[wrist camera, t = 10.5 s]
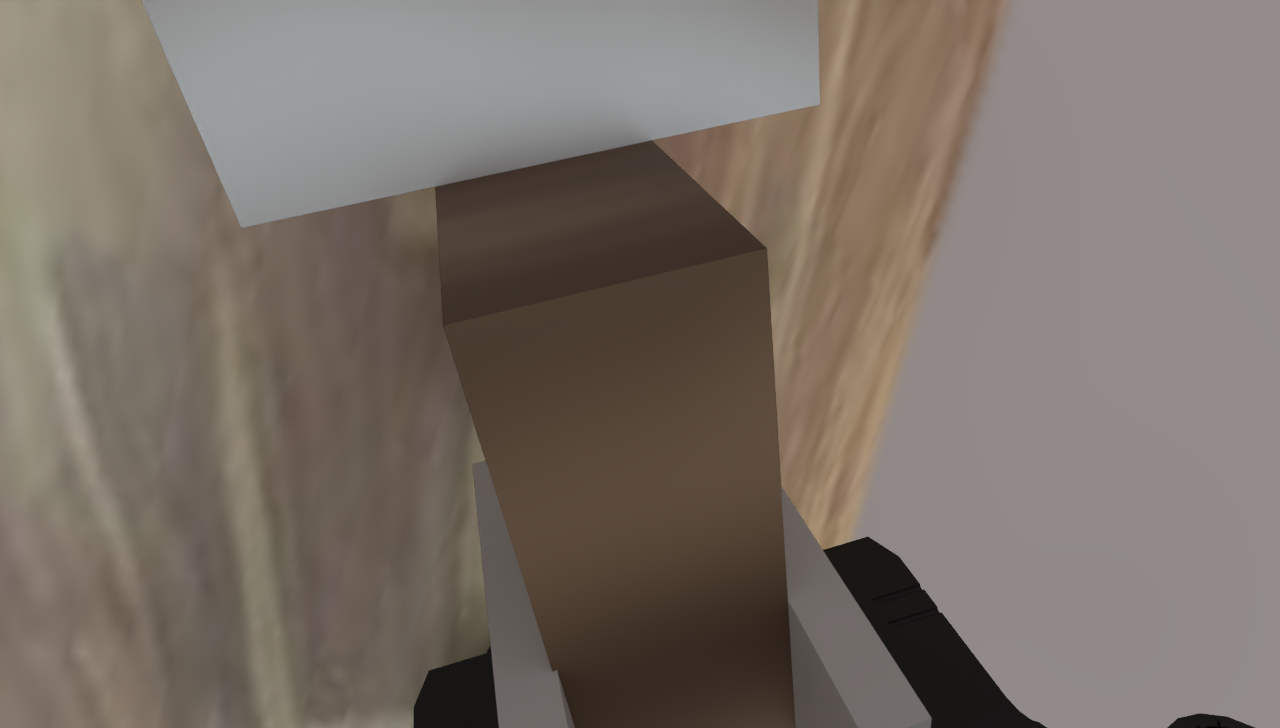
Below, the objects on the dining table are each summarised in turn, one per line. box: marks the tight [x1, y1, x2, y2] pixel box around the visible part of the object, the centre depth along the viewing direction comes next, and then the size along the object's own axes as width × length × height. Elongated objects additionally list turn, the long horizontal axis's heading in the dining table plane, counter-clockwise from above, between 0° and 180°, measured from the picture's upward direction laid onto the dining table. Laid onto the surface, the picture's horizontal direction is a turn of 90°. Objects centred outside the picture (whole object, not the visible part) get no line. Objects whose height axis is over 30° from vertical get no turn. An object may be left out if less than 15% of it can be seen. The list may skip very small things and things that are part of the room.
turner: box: [142, 0, 820, 728], centre depth 10 cm, size 19×8×5 cm, turn 9°
